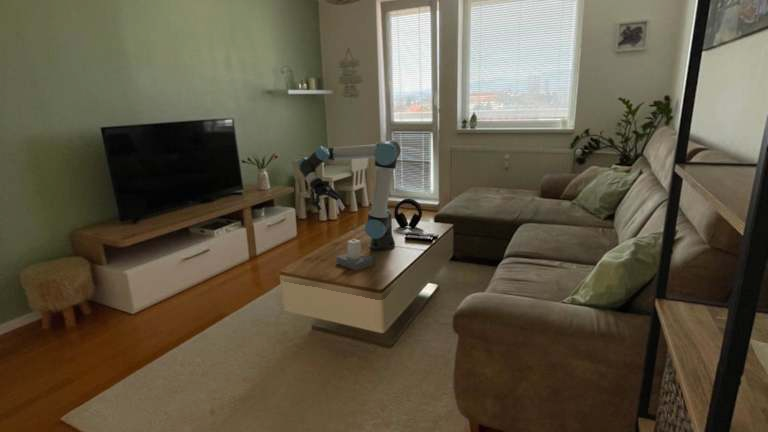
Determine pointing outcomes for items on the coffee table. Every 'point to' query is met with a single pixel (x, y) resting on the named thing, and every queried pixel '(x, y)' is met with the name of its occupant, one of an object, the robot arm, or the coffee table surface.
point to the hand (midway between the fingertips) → (334, 211)
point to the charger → (354, 249)
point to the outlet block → (355, 262)
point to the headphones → (401, 217)
